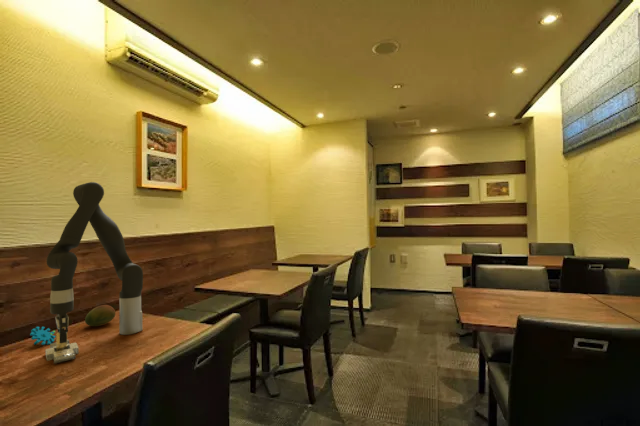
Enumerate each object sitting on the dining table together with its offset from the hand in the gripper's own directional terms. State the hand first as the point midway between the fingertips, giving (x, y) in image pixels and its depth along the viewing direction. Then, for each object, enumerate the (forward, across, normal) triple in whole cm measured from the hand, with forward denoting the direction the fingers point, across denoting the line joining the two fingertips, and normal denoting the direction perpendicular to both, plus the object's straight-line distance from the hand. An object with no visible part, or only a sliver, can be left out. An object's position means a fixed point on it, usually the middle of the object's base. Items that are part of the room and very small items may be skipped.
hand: (62, 339), depth 132 cm
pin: (+6, 0, 0) cm, 6 cm away
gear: (+6, +20, +5) cm, 22 cm away
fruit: (+6, +32, -18) cm, 37 cm away
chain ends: (+6, 0, 0) cm, 6 cm away
